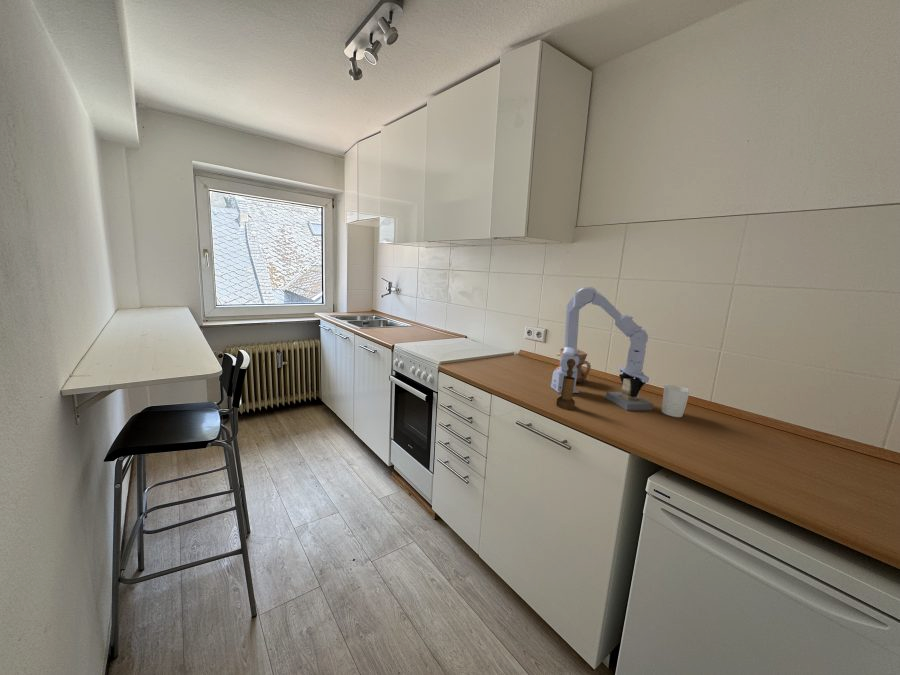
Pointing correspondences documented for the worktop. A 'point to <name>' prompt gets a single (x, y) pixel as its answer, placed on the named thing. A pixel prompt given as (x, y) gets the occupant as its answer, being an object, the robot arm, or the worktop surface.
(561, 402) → the brown capped rod
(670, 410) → the white cup
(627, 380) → the peg
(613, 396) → the socket board
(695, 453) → the worktop surface
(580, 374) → the ceramic jug
